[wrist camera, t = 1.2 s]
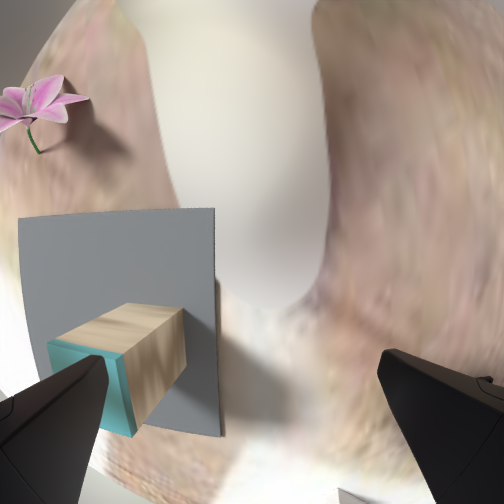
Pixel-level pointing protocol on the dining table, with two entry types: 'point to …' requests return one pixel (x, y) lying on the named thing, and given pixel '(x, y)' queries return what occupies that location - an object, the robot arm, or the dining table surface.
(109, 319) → the maple block
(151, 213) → the rubber mat
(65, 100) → the lily
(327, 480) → the dining table surface
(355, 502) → the light grey cube
